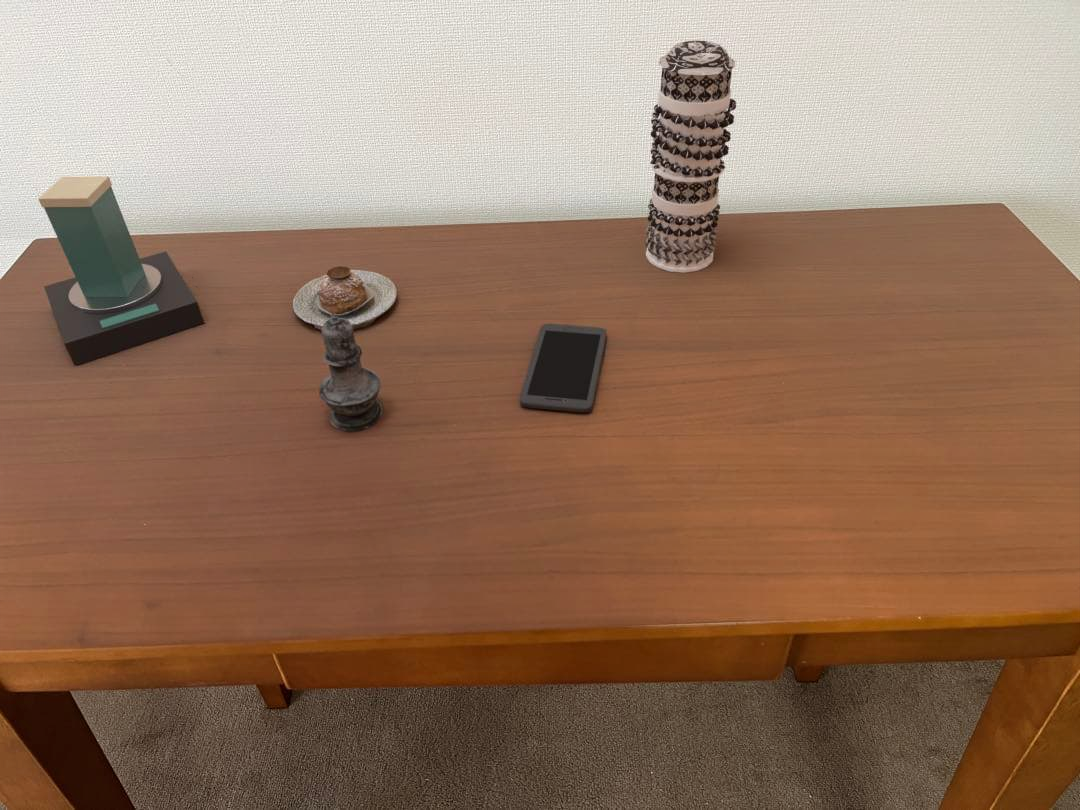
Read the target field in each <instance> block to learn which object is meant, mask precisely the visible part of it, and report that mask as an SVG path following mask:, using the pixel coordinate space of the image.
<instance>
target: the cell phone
mask: <svg viewBox="0 0 1080 810" xmlns="http://www.w3.org/2000/svg"><path fill="white" fill-rule="evenodd" d="M606 342H607V329H606V328H604V327H599V326H588V325H587V326H586V325H575V324H574V325H572V324H563V323H562V324H561V323H544V324H541V326H540V328H539V332H538V336H537V338H536V341H535V344H534V348H533V351H532V354H531V357H530V361H529V365H528V368H527V371H526V375H525V378H524V381H523V384H522V386H521V387H522V388H521V391H520V395H519V405H520V406H522V407H524V408H530V409H539V410H550V411H552V410H553V411H560V412H572V413H582V414H583V413H590V412H591V411H592V410H593V406H594V402H595V399H596V393H597V389H598V383H599V377H600V373H601V368H602V363H603V358H604V357H603V356H604V352H605V347H606Z"/></svg>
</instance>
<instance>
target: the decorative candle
mask: <svg viewBox="0 0 1080 810" xmlns="http://www.w3.org/2000/svg"><path fill="white" fill-rule="evenodd" d="M658 65H660V66H661V77H660V86H659V89H658V97H657V98H658V100H657V104H656V105H654V107H653V110H654V111H653V112H652V114H651V115H652V118H651V120H650V123H651V125H652V126H651V129H652V130H651V131H650V137H652V138H653V139H652V143H651V147H652V148H651V149H650V154H651V160H650V163H649V164H650V165H651V169H652V170H653V172H654V181H653V183H654V184H653V185H652V191H651V198H650V200H649V203H648V206H647V208H648V210H649V212H648V214H649V215H648V216H647V221H648V223H649V224H648V225H647V228H646V231H645V233H646V236H647V238H646V240H645V246H646V252H645V257H646V259H647V261H648V262H649V263H650V264H651V265H652V266H654V267H655V268H657V269H661V270H664V271H667V272H671V273H683V274H684V273H692V272H698V271H701V270H703V269H705V268H707V267H709V266H710V265H711V263H712V262H713V261H714V252H715V251H716V247H715V246H716V242H715V241H716V240H717V236H716V235H717V234H718V231H717V229H715V228H717V227H718V222H719V216H718V215H720V209H721V205H720V204H719V203H718V202H719V201H718V200H719V191H720V189H719V181H720V176H721V175H722V174H723V173H725V169H726V166H725V161H724V160H723V159H722V158H723V157H725V156H727V155H728V154H729V150H730V148H729V146H728V145H727V144H726V143H728V142H730V141H731V138H732V137H731V132H730V131H729V130H727V128H728V127H729V126H731V125H733V124H734V123H735V116H734V114H733V113H731V112H732V111H734V110H736V108H737V101H736V100H735V99H734V98H731V95H732V89H731V81H732V73H733V69H734V68H735V67H736V60H735V59H733V58H732V57H730V56H729V54H728V51H727V49H726V48H725V47H723V46H722V45H721V44H718V43H716V42H713V41H708V40H686V41H683V42H679V43H676V44H675V45H674V46H672V47H671V48H669V51H668V52H667V54H665V55H664V56H662V57H660V58H659V62H658Z"/></svg>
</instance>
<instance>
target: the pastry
mask: <svg viewBox="0 0 1080 810" xmlns="http://www.w3.org/2000/svg"><path fill="white" fill-rule="evenodd" d="M397 292H398V290H397V287H396V285H395V284H394V282H393V281H392V280H391V279H390V278H388V277H387V276H384V275H382V274H379V273H378V272H374V271H370V270H362V269H350V268H349V267H347V266H342V265H341V266H334V267H332V268H330V269H328V270H327V272H326V274H324V275H321V276H320V277H317V278H314V279H312V280H310V281H309V282H307V283H305V284H304V285H303V286H302V287H301V288H299V289H298V291H297V292H296V294H295V296H294V297H293V300H292V310H293V312H294V314H295V315H296V316H297V317H298V318H299V319H301V320H302V321H304V322H305V323H307V324H310V325H313V327H314V329H316V330H319V331H322V326H323V324H324V323H325V322H326V321H327V320H329V319H331V318H330V316H331V314H332V313H333V312H334V313H336V314H337V315H338V317H340V318H345V319H346V320H348V321H349V322H350V323H351V325H352V328H353V330H356V329H359V328H364V327H367V326H369V325H371V324H372V323H373V322H375V320H376V318H378V317H380V316H381V315H383V314H384V313H386V312H387V311H388V310H389V309H391V307H392V306H393V305H394V304H395V302H396V299H397V295H398V294H397Z"/></svg>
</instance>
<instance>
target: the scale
mask: <svg viewBox="0 0 1080 810" xmlns="http://www.w3.org/2000/svg"><path fill="white" fill-rule="evenodd" d="M139 259H140V262H141V264H146V265H150V266H153V267H154V268H156V269H157V270H158V271H159V272H160V274H161V277H162V285H161V287H160V289H159V290H158V291H157V293H156V294H154V295H153V296H152V297H151V298H149V299H148V300H146V301H144V302H143V303H141V304H139V305H136V306H134V307H131V308H128V309H125V310H122V311H117V312H112V313H104V314H92V313H85V312H81V311H79V310H77V309H75V308H74V307H73V306H72V304H71V303H70V300H69V292H70V290H71V288H72V287H73V286H74V284H75V283H77V282H78V281H77V279H76V277H75V276H74V277H72V278H68V279H65V280H61V281H58V282H55V283H51V284H48V285H44V287H43V288H44V290H45V294H46V296H47V299H48V302H49V304H50V305H49V306H50V307H51V310H52V314H53V316H54V319H55V322H56V325H57V327H58V330H59V333H60V336H61V340H62V342H63V345H64V346H65V348H66V351H67V352H68V355H69V356H70V359H71V360H72V363H73V364H74V366H75V367H76V366H79V365H82V364H85V363H88V362H91V361H95V360H98V359H100V358H103V357H106V356H109V355H112V354H115V353H118V352H121V351H124V350H127V349H131V348H133V347H137V346H139V345H143V344H145V343H149V342H151V341H154V340H157V339H161V338H163V337H167V336H170V335H172V334H176V333H179V332H182V331H186V330H189V329H191V328H195V327H197V326H200V325H203V324H205V319H204V317H203V315H202V312H201V309H200V306H199V302H198V300H197V299H196V298H195V296H194V294H193V293H192V291H191V289H190V287H189V286H188V284H187V283H186V281H185V280H184V278H183V276H182V274H181V273H180V271H179V270H178V268H177V266H176V265H175V263H174V261H173V260H172V258H171V257H170V255H169V254H168V252H167V250H166V251H161V252H157V253H154V254H151V255H148V256H145V257H140V258H139Z"/></svg>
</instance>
